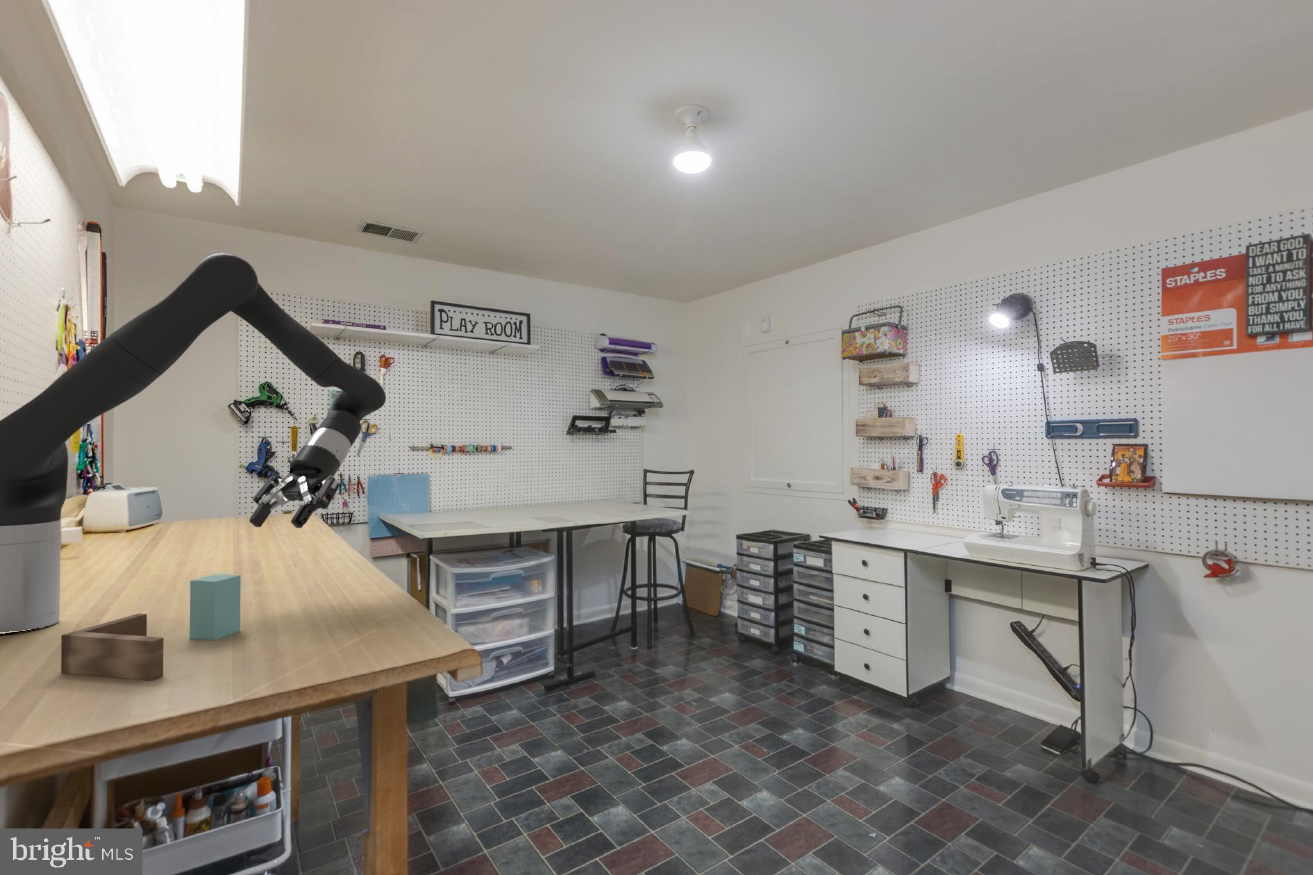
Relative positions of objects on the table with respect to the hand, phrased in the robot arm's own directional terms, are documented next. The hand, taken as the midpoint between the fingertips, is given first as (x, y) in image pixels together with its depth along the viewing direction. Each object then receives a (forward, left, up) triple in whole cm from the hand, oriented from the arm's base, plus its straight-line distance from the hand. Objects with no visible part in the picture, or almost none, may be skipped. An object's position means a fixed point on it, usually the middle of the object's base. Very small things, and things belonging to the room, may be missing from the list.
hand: (274, 525), depth 103 cm
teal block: (-1, -11, -16) cm, 19 cm away
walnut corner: (0, -23, -16) cm, 28 cm away
